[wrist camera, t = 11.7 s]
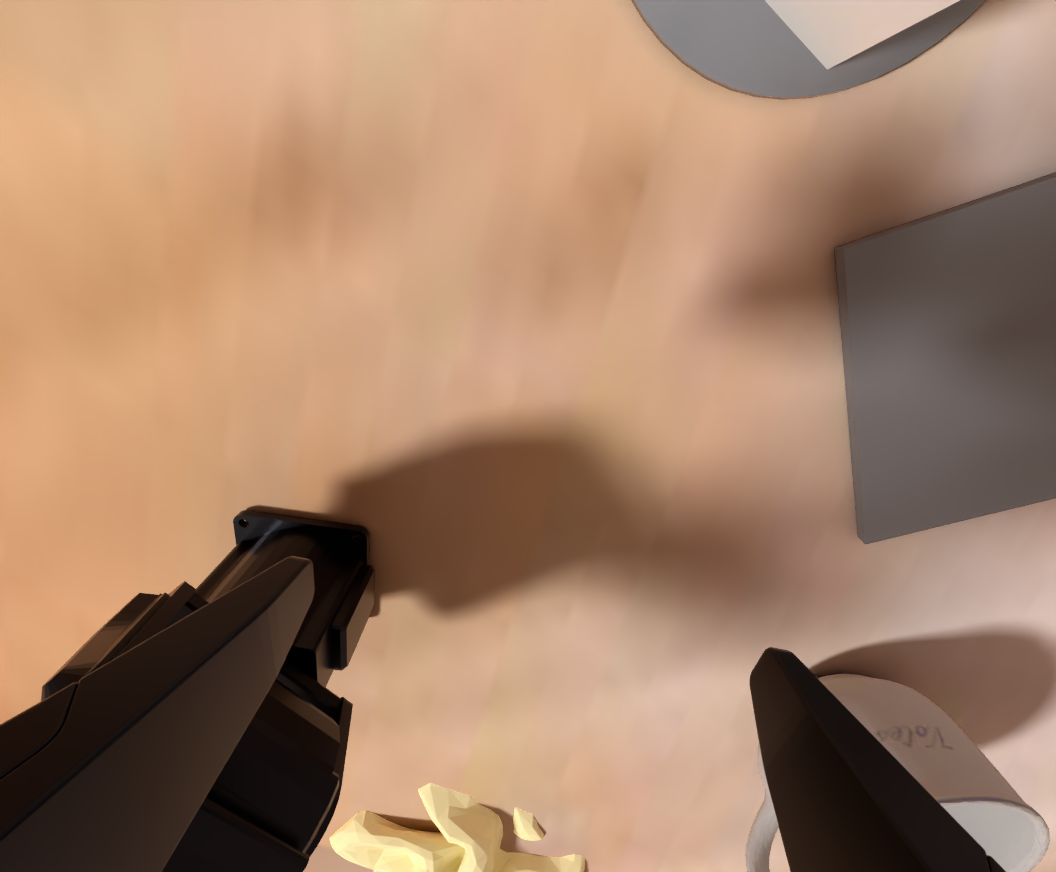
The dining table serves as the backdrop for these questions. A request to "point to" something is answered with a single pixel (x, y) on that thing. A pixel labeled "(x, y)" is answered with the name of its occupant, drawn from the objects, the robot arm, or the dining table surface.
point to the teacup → (928, 773)
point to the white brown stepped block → (850, 23)
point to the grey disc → (778, 46)
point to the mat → (952, 362)
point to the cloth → (445, 840)
